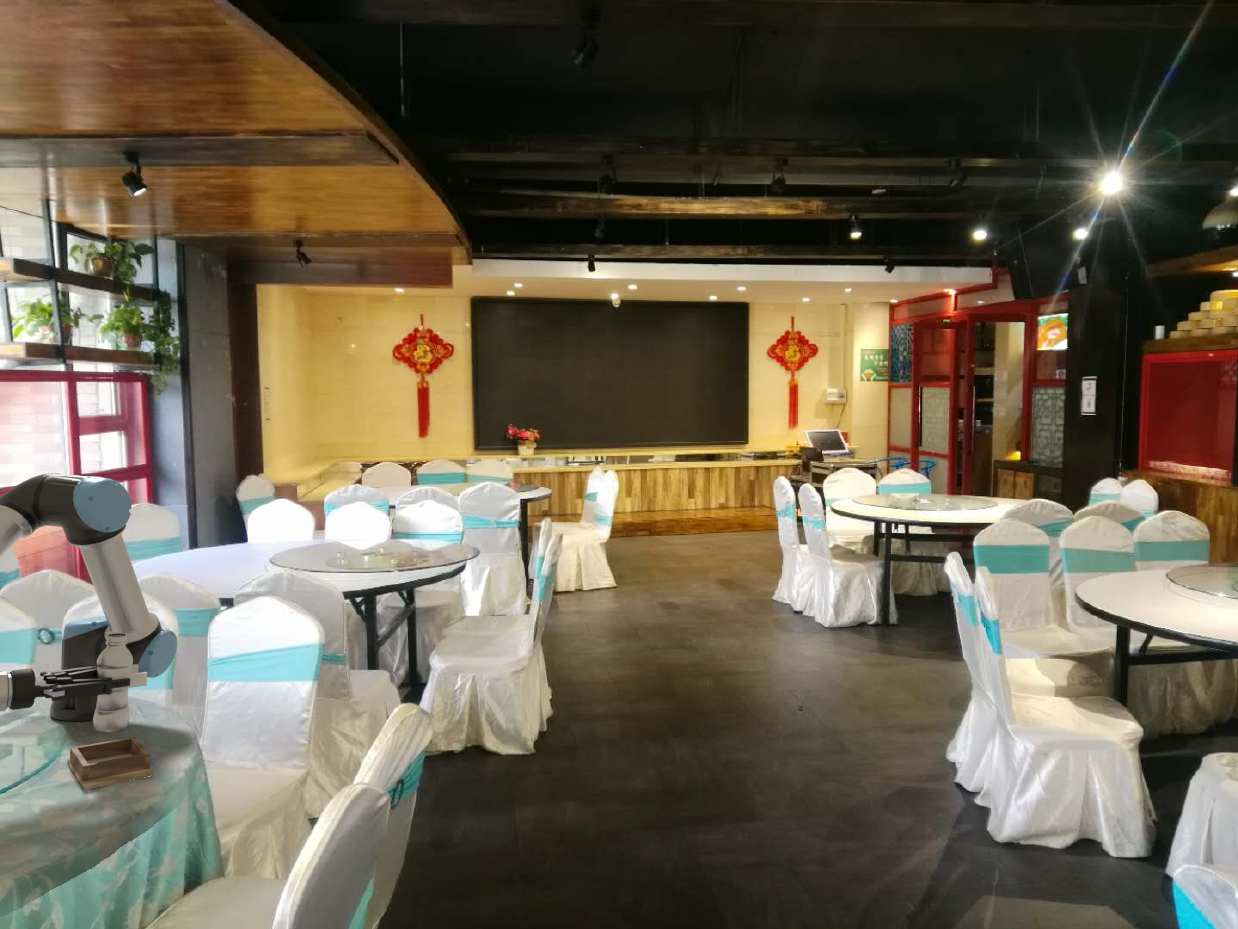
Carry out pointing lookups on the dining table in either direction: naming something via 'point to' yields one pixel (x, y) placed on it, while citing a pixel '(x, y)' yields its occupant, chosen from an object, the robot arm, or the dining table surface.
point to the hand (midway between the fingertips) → (141, 674)
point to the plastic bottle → (115, 707)
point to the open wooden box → (109, 762)
